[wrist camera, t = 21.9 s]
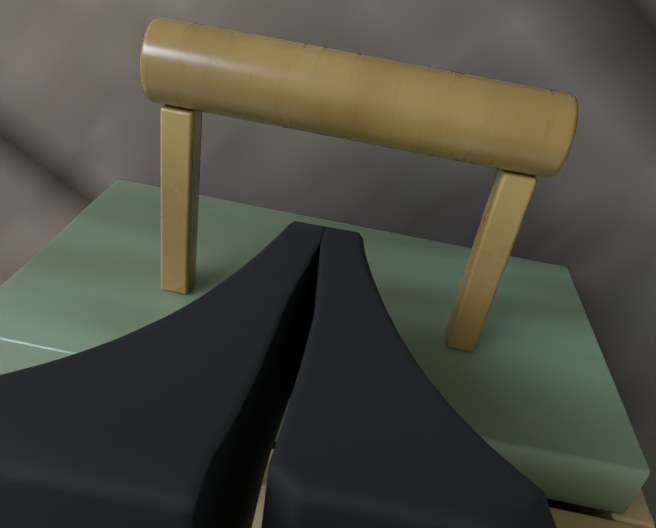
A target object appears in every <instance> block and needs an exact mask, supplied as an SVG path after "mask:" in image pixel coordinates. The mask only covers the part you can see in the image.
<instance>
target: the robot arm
mask: <svg viewBox="0 0 656 528" xmlns="http://www.w3.org/2000/svg"><path fill="white" fill-rule="evenodd" d="M298 372H299V373H298ZM297 375H298V376H297ZM296 377H297V379H296ZM295 380H296V383H295V386H294V389H293V392H292V396H291V399H290V402H289V406H288V409H287V412H286V415H285V418H284V421H283V424H282V427H281V430H280V433H279V436H278V439H277V442H276V445H275V448H274V451H273V454H272V457H271V459H270V462H269V468H268V476H267V485H266V493H265V501H264V510H263V518H262V526H261V528H557V527H556V524H555V521H554V519H553V516H552V513H551V510H550V508H549V505H548V502H547V500H546V497H545V494H544V492H543V491H542V490H541V489H540V488H539V487H537V486H536V485H535V484H534V483H533V482H532V481H530V480H529V479H528V478H527V477H526V476H525V475H523V474H522V473H521V472H520V471H519V470H518V469H516V468H515V467H514V466H513V465H512V464H511V463H509V462H508V461H507V460H506V459H505V458H503V457H502V456H501V455H500V454H499V453H498V452H496V451H495V450H494V449H493V448H492V447H491V446H490V445H489V444H488V443H487V442H486V441H485V440H484V439H483V438H482V437H481V436H480V435H479V434H478V433H477V432H476V431H475V430H474V429H473V428H472V427H471V426H470V425H469V424H468V423H467V422H466V421H465V420H464V419H463V418H462V417H461V416H460V415H459V414H458V413H457V412H456V411H455V410H454V409H453V407H452V406H451V405H450V404H449V403H448V402H447V400H446V399H445V398H444V397H443V396H442V394H441V393H440V392H439V391H438V390H437V388H436V387H435V386H434V385H433V384H432V383H431V381H430V380H429V378H428V377H427V376H426V374H425V373H424V372H423V370H422V369H421V367H420V366H419V365H418V363H417V362H416V360H415V359H414V357H413V356H412V354H411V353H410V351H409V349H408V348H407V346H406V345H405V343H404V341H403V340H402V338H401V336H400V334H399V333H398V331H397V329H396V327H395V325H394V323H393V321H392V319H391V317H390V316H389V314H388V312H387V309H386V307H385V305H384V303H383V301H382V299H381V296H380V294H379V291H378V289H377V286H376V284H375V282H374V279H373V276H372V273H371V270H370V267H369V264H368V261H367V257H366V253H365V249H364V242H363V238H362V236H361V235H360V233H359V232H354V231H348V230H343V229H337V228H331V227H326V226H320V225H315V224H309V223H304V222H298V221H294V222H292V223H291V224H289V225H288V226H287V227H286V228H285V229H284V230H283V231H282V232H281V233H280V234H279V235H278V236H277V237H276V238H275V239H274V240H273V241H271V242H270V243H269V244H268V245H267V246H266V247H265V248H264V249H263V250H262V251H260V252H259V253H258V254H257V255H256V256H254V257H253V258H252V259H251V260H250V261H248V262H247V263H246V264H245V265H244V266H242V267H241V268H240V269H239V270H237V271H236V272H235V273H233V274H232V275H231V276H229V277H228V278H227V279H225V280H224V281H222V282H221V283H220V284H218V285H217V286H215V287H214V288H213V289H211V290H210V291H208V292H207V293H205V294H204V295H202V296H201V297H199V298H197V299H196V300H194V301H193V302H191V303H189V304H188V305H186V306H184V307H183V308H181V309H179V310H177V311H175V312H174V313H172V314H170V315H168V316H166V317H164V318H162V319H160V320H157V321H155V322H153V323H151V324H149V325H146V326H144V327H142V328H140V329H137V330H135V331H133V332H131V333H129V334H126V335H124V336H122V337H120V338H117V339H115V340H112V341H109V342H107V343H104V344H101V345H99V346H96V347H93V348H91V349H88V350H85V351H82V352H79V353H76V354H73V355H70V356H67V357H64V358H61V359H57V360H54V361H51V362H47V363H44V364H40V365H36V366H33V367H29V368H25V369H21V370H17V371H14V372H10V373H6V374H2V375H0V528H252V524H253V520H254V516H255V512H256V507H257V503H258V499H259V495H260V491H261V486H262V482H263V478H264V474H265V470H266V467H267V464H268V460H269V457H270V454H271V450H272V448H273V445H274V442H275V439H276V436H277V433H278V430H279V427H280V424H281V422H282V419H283V416H284V413H285V410H286V407H287V404H288V399H289V395H290V393H291V390H292V388H293V385H294V382H295Z"/></svg>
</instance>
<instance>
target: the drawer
mask: <svg viewBox="0 0 656 528" xmlns="http://www.w3.org/2000/svg"><path fill="white" fill-rule="evenodd" d="M140 77H141V84H142V88H143V91H144V94H145V95H146V97H147V98H148V99H149V100H151V101H152V102H156V103H161V104H165V105H164V106H163V107H162V108H161V187H158V186H153V185H148V184H142V183H137V182H132V181H127V180H122V179H117V180H116V181H115V182H114V183H113V184H112V185H110V186H109V187H108V188H107V189H106V190H105V191H104V192H103V193H102V194H101V195H100V196H98V197H97V198H96V199H95V200H94V201H93V202H92V203H91V204H90V205H89V206H88V207H86V208H85V209H84V210H83V211H82V212H81V213H80V214H79V215H78V216H77V217H76V218H75V219H73V220H72V221H71V222H70V223H69V224H68V225H67V226H66V227H65V228H64V229H63V230H61V231H60V232H59V233H58V234H57V235H56V236H55V237H54V238H53V239H52V240H51V241H49V242H48V243H47V244H46V245H45V246H44V247H43V248H42V249H41V250H40V251H39V252H37V253H36V254H35V255H34V256H33V257H32V258H31V259H30V260H29V261H28V262H27V263H25V264H24V265H23V266H22V267H21V268H20V269H19V270H18V271H17V272H16V273H15V274H14V275H12V276H11V277H10V278H9V279H8V280H7V281H6V282H5V283H4V284H3V285H2V286H0V375H2V374H6V373H10V372H14V371H17V370H21V369H25V368H29V367H33V366H36V365H40V364H44V363H47V362H51V361H54V360H57V359H61V358H64V357H67V356H70V355H73V354H76V353H79V352H82V351H85V350H88V349H91V348H93V347H96V346H99V345H101V344H104V343H107V342H109V341H112V340H115V339H117V338H120V337H122V336H124V335H126V334H129V333H131V332H133V331H135V330H137V329H140V328H142V327H144V326H146V325H149V324H151V323H153V322H155V321H157V320H160V319H162V318H164V317H166V316H168V315H170V314H172V313H174V312H175V311H177V310H179V309H181V308H183V307H184V306H186V305H188V304H189V303H191V302H193V301H194V300H196V299H197V298H199V297H201V296H202V295H204V294H205V293H207V292H208V291H210V290H211V289H213V288H214V287H215V286H217V285H218V284H220V283H221V282H222V281H224V280H225V279H227V278H228V277H229V276H231V275H232V274H233V273H235V272H236V271H237V270H239V269H240V268H241V267H242V266H244V265H245V264H246V263H247V262H248V261H250V260H251V259H252V258H253V257H254V256H256V255H257V254H258V253H259V252H260V251H262V250H263V249H264V248H265V247H266V246H267V245H268V244H269V243H270V242H271V241H273V240H274V239H275V238H276V237H277V236H278V235H279V234H280V233H281V232H282V231H283V230H284V229H285V228H286V227H287V226H288V225H289V224H291V223H292V222H294V221H298V222H304V223H309V224H315V225H320V226H326V227H331V228H337V229H343V230H348V231H354V232H359V233H360V235H361V236H362V238H363V242H364V249H365V253H366V257H367V261H368V264H369V267H370V270H371V273H372V276H373V279H374V282H375V284H376V286H377V289H378V291H379V294H380V296H381V299H382V301H383V303H384V305H385V307H386V309H387V312H388V314H389V316H390V317H391V319H392V321H393V323H394V325H395V327H396V329H397V331H398V333H399V334H400V336H401V338H402V340H403V341H404V343H405V345H406V346H407V348H408V349H409V351H410V353H411V354H412V356H413V357H414V359H415V360H416V362H417V363H418V365H419V366H420V367H421V369H422V370H423V372H424V373H425V374H426V376H427V377H428V378H429V380H430V381H431V383H432V384H433V385H434V386H435V387H436V388H437V390H438V391H439V392H440V393H441V394H442V396H443V397H444V398H445V399H446V400H447V402H448V403H449V404H450V405H451V406H452V407H453V409H454V410H455V411H456V412H457V413H458V414H459V415H460V416H461V417H462V418H463V419H464V420H465V421H466V422H467V423H468V424H469V425H470V426H471V427H472V428H473V429H474V430H475V431H476V432H477V433H478V434H479V435H480V436H481V437H482V438H483V439H484V440H485V441H486V442H487V443H488V444H489V445H490V446H491V447H492V448H493V449H494V450H495V451H496V452H498V453H499V454H500V455H501V456H502V457H503V458H505V459H506V460H507V461H508V462H509V463H511V464H512V465H513V466H514V467H515V468H516V469H518V470H519V471H520V472H521V473H522V474H523V475H525V476H526V477H527V478H528V479H529V480H530V481H532V482H533V483H534V484H535V485H536V486H537V487H539V488H540V489H541V490H542V491H543V492H544V494H545V497H546V500H547V499H551V500H556V501H561V502H565V503H570V504H575V505H580V506H585V507H589V508H594V509H599V510H604V511H608V512H613V513H618V514H623V513H625V511H626V510H627V508H628V507H629V505H630V504H631V502H632V501H633V499H634V498H635V496H636V495H637V493H638V492H639V490H640V489H641V487H642V486H643V484H644V483H645V481H646V480H647V478H648V477H649V475H650V473H651V471H650V468H649V466H648V463H647V461H646V459H645V456H644V454H643V451H642V449H641V446H640V444H639V441H638V439H637V437H636V434H635V432H634V429H633V427H632V424H631V422H630V420H629V417H628V415H627V412H626V410H625V407H624V405H623V402H622V400H621V398H620V395H619V393H618V390H617V388H616V385H615V383H614V381H613V378H612V376H611V373H610V371H609V368H608V366H607V363H606V361H605V359H604V356H603V354H602V351H601V349H600V346H599V344H598V341H597V339H596V337H595V334H594V332H593V329H592V327H591V324H590V322H589V320H588V317H587V315H586V312H585V310H584V307H583V305H582V302H581V300H580V298H579V295H578V293H577V290H576V288H575V285H574V283H573V281H572V278H571V276H570V273H569V271H568V268H567V267H564V266H559V265H554V264H549V263H544V262H539V261H534V260H529V259H523V258H518V257H513V256H510V253H511V251H512V248H513V245H514V243H515V240H516V237H517V234H518V232H519V229H520V226H521V224H522V221H523V218H524V216H525V213H526V210H527V207H528V205H529V202H530V199H531V197H532V194H533V191H534V189H535V186H536V183H537V179H536V177H535V176H540V177H545V178H548V177H552V176H554V175H555V174H556V173H557V172H558V171H559V170H560V168H561V167H562V165H563V163H564V162H565V160H566V158H567V156H568V153H569V151H570V148H571V146H572V143H573V139H574V136H575V132H576V127H577V120H578V103H577V99H576V97H575V96H573V95H572V94H570V93H566V92H560V91H555V90H550V89H544V88H539V87H534V86H528V85H523V84H518V83H512V82H507V81H502V80H496V79H491V78H486V77H480V76H475V75H470V74H465V73H459V72H454V71H449V70H443V69H438V68H433V67H427V66H422V65H417V64H411V63H406V62H401V61H395V60H390V59H385V58H379V57H374V56H369V55H364V54H358V53H353V52H348V51H342V50H337V49H332V48H326V47H321V46H316V45H310V44H305V43H300V42H294V41H289V40H284V39H278V38H273V37H268V36H263V35H257V34H252V33H247V32H241V31H236V30H231V29H225V28H220V27H215V26H209V25H204V24H199V23H193V22H188V21H183V20H177V19H172V18H167V17H158V18H155V19H153V20H152V21H151V23H150V24H149V26H148V28H147V30H146V33H145V36H144V40H143V44H142V49H141V57H140ZM202 112H207V113H213V114H218V115H223V116H228V117H233V118H239V119H244V120H249V121H254V122H259V123H265V124H270V125H275V126H280V127H285V128H291V129H296V130H301V131H306V132H311V133H316V134H322V135H327V136H332V137H337V138H342V139H348V140H353V141H358V142H363V143H368V144H374V145H379V146H384V147H389V148H394V149H400V150H405V151H410V152H415V153H420V154H426V155H431V156H436V157H441V158H446V159H451V160H457V161H462V162H467V163H472V164H477V165H483V166H488V167H493V168H498V170H497V173H496V176H495V179H494V182H493V186H492V189H491V192H490V195H489V198H488V201H487V204H486V207H485V210H484V213H483V216H482V219H481V222H480V225H479V228H478V231H477V234H476V237H475V240H474V243H473V247H472V248H468V247H462V246H457V245H452V244H447V243H442V242H437V241H432V240H427V239H422V238H417V237H412V236H407V235H402V234H396V233H391V232H386V231H381V230H376V229H371V228H366V227H361V226H356V225H351V224H346V223H341V222H336V221H330V220H325V219H320V218H315V217H310V216H305V215H300V214H295V213H290V212H285V211H280V210H275V209H269V208H264V207H259V206H254V205H249V204H244V203H239V202H234V201H229V200H224V199H219V198H214V197H209V196H203V195H199V179H200V154H201V128H202ZM298 373H299V372H298ZM297 376H298V375H297ZM296 379H297V377H296ZM295 383H296V380H295V382H294V385H293V388H292V390H291V393H290V395H289V399H288V404H287V407H286V410H285V413H284V416H283V419H282V422H281V424H280V427H279V430H278V433H277V436H276V439H275V442H277V439H278V436H279V433H280V430H281V427H282V424H283V421H284V418H285V415H286V412H287V409H288V406H289V402H290V399H291V396H292V392H293V389H294V386H295Z"/></svg>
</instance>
